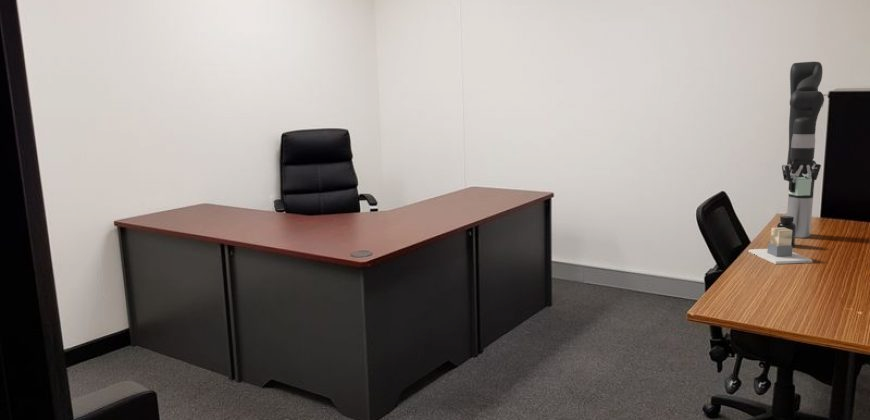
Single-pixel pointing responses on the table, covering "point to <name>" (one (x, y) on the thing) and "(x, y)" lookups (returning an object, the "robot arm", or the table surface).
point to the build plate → (781, 259)
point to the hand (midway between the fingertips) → (799, 191)
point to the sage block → (802, 187)
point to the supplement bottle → (788, 226)
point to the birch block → (781, 236)
